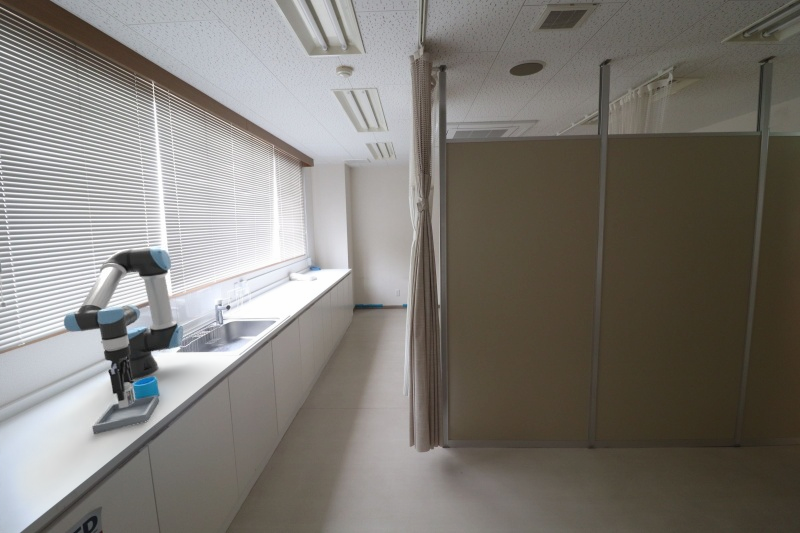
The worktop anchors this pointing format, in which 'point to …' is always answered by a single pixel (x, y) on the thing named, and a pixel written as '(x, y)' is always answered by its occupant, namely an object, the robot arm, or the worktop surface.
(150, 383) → the mug
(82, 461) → the worktop surface
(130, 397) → the pill bottle
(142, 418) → the tray
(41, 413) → the worktop surface
